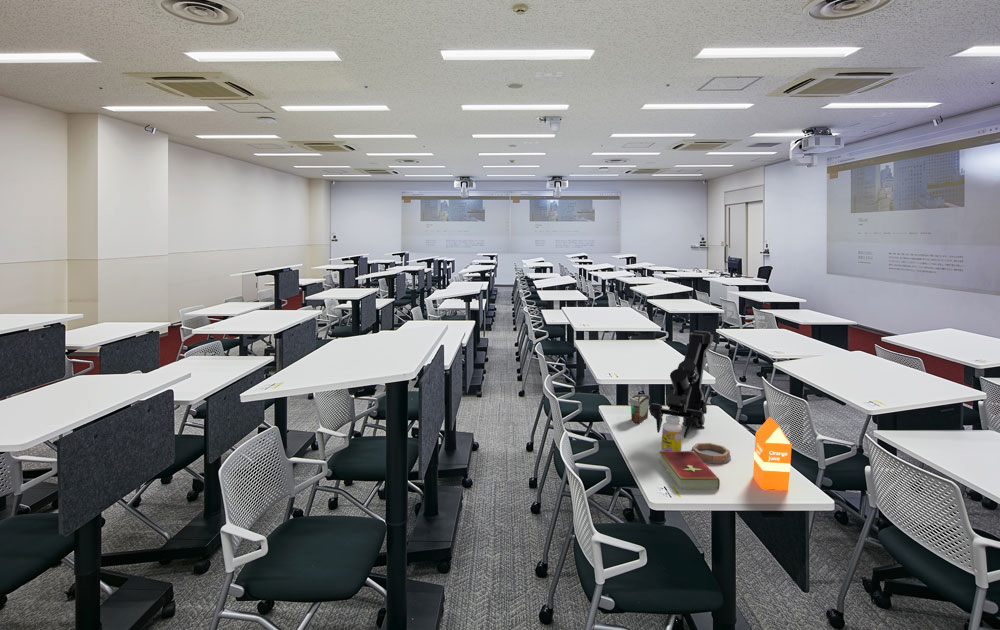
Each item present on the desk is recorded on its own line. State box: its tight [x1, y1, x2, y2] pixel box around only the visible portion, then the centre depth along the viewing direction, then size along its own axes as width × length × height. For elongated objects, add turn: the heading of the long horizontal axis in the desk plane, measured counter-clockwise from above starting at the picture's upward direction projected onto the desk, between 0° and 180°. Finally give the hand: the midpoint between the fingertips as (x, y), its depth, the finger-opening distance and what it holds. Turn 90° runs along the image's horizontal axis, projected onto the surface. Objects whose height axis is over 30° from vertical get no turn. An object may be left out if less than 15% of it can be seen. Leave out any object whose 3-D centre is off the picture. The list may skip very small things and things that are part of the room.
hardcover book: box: [659, 450, 721, 490], centre depth 171 cm, size 12×21×4 cm, turn 0°
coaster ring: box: [690, 442, 732, 465], centre depth 185 cm, size 13×13×3 cm
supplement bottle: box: [661, 415, 683, 451], centre depth 188 cm, size 7×7×13 cm
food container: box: [629, 393, 651, 425], centre depth 223 cm, size 12×6×10 cm, turn 145°
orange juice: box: [752, 416, 793, 492], centre depth 163 cm, size 8×9×20 cm
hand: (671, 434), depth 187 cm, fingers open, 9 cm apart
